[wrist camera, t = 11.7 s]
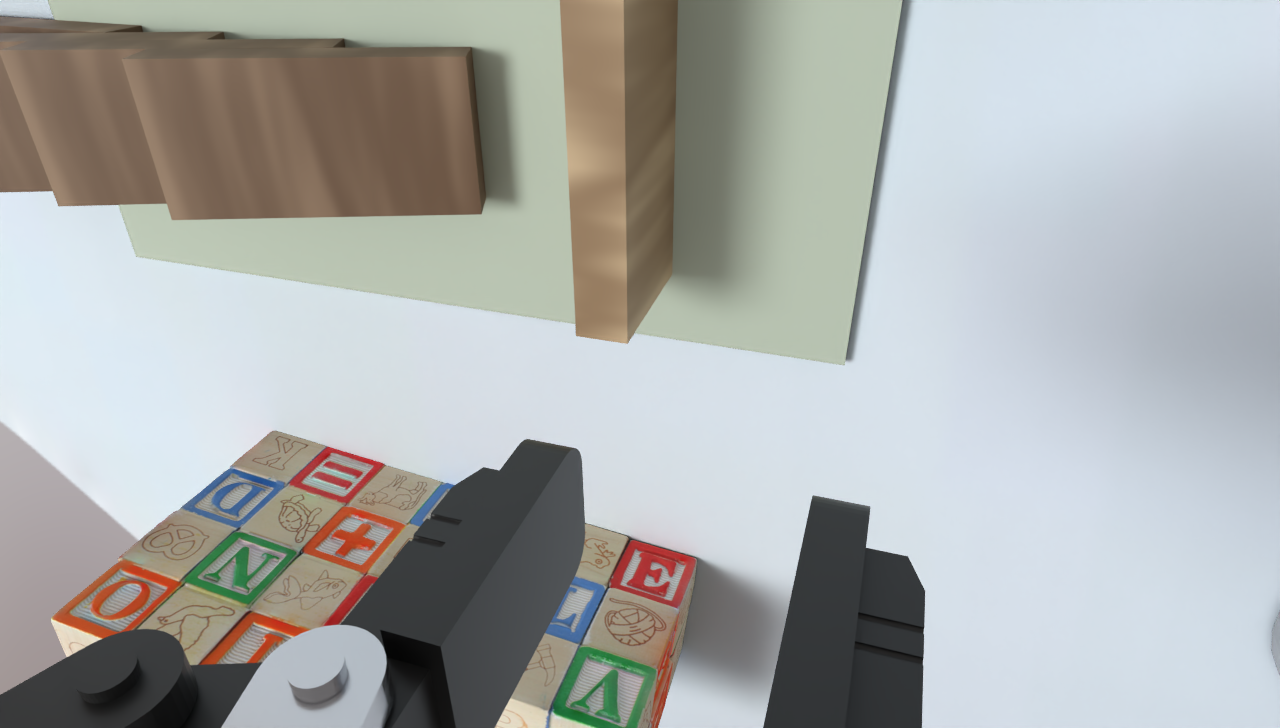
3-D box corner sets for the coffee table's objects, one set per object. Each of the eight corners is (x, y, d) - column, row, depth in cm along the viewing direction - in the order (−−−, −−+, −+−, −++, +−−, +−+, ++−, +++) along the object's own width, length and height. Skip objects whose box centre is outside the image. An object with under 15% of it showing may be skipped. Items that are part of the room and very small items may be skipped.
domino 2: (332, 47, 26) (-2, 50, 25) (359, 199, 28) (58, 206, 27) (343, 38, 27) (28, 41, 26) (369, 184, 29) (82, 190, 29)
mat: (935, -211, 19) (935, -213, 19) (845, 359, 28) (844, 365, 27) (-8, -193, 27) (-20, -193, 27) (143, 253, 35) (136, 256, 35)
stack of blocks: (702, 552, 35) (608, 831, 24) (684, 647, 38) (595, 927, 28) (271, 427, 39) (39, 620, 29) (289, 522, 42) (88, 725, 32)
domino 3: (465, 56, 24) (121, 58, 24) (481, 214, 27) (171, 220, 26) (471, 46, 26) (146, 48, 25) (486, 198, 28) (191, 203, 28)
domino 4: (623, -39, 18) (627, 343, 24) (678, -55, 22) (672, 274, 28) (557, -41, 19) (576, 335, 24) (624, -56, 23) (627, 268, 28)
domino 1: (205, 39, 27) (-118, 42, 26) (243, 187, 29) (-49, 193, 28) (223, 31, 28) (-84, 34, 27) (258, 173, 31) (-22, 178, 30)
